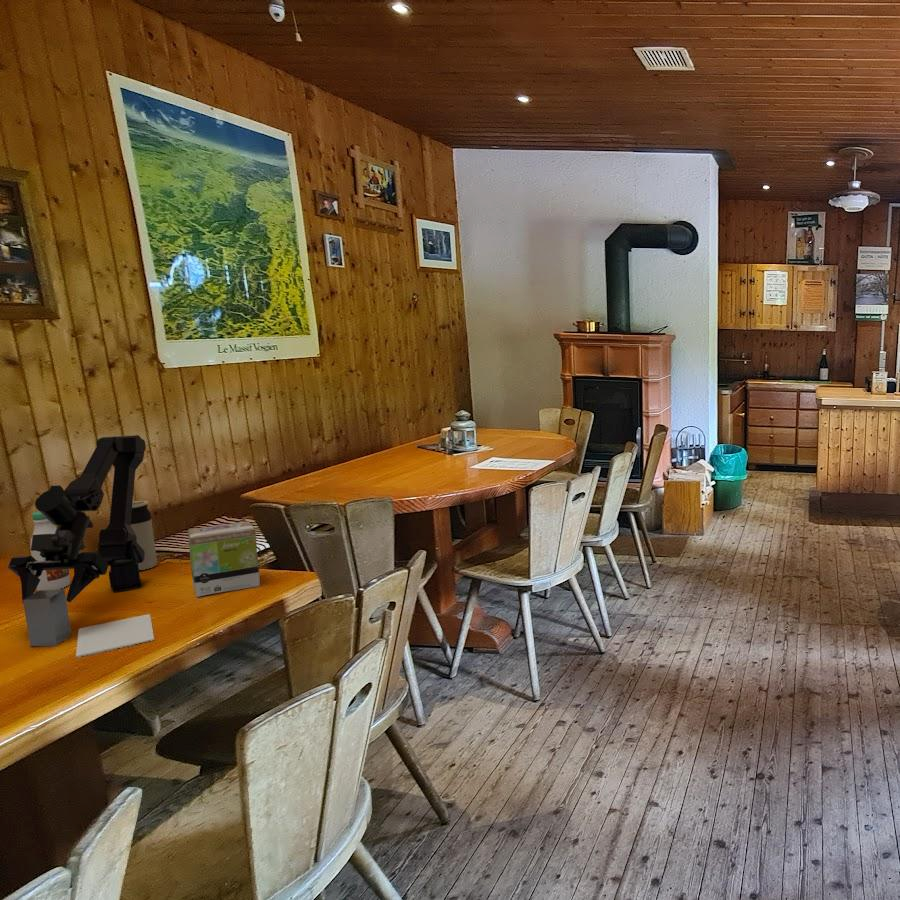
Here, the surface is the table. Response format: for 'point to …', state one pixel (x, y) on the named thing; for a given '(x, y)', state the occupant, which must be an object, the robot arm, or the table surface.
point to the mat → (114, 635)
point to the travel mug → (144, 533)
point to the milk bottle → (48, 577)
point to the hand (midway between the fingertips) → (46, 602)
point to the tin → (47, 617)
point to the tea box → (223, 558)
